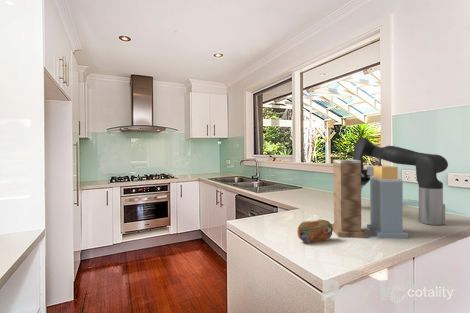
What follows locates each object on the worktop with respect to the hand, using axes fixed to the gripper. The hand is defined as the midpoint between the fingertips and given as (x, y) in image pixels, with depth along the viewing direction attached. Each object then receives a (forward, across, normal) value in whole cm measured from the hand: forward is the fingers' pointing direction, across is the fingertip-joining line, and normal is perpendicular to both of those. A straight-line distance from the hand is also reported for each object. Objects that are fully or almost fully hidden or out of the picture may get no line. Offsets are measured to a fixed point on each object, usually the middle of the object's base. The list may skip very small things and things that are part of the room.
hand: (371, 165), depth 117 cm
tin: (+7, -32, +37) cm, 50 cm away
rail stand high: (-3, -16, +31) cm, 35 cm away
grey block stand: (-3, 0, +31) cm, 31 cm away
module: (+5, 0, +8) cm, 9 cm away
